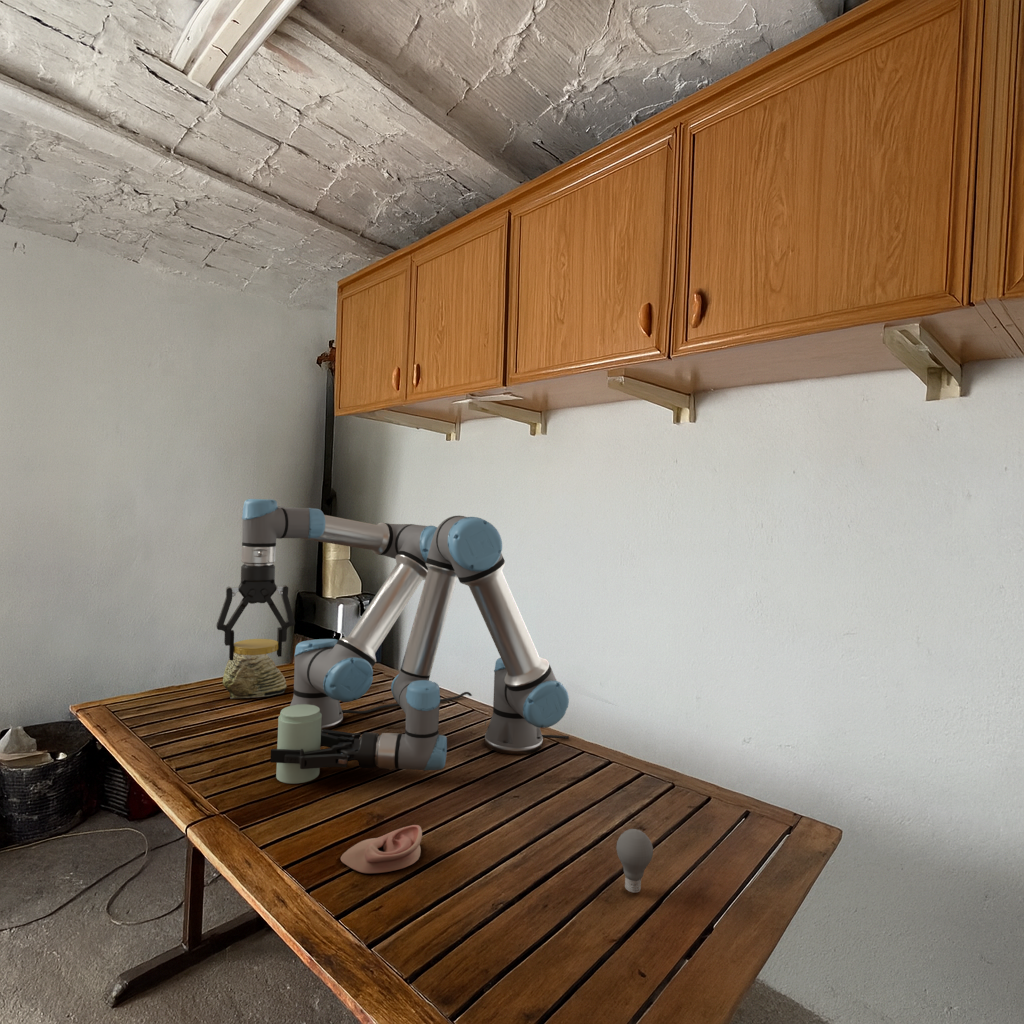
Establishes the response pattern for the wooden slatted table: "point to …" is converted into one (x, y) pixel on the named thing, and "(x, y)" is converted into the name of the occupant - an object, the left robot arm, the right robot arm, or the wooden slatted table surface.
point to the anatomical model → (385, 851)
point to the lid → (255, 646)
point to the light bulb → (634, 857)
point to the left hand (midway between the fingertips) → (255, 657)
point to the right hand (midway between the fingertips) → (279, 746)
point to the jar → (298, 740)
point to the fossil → (253, 677)
